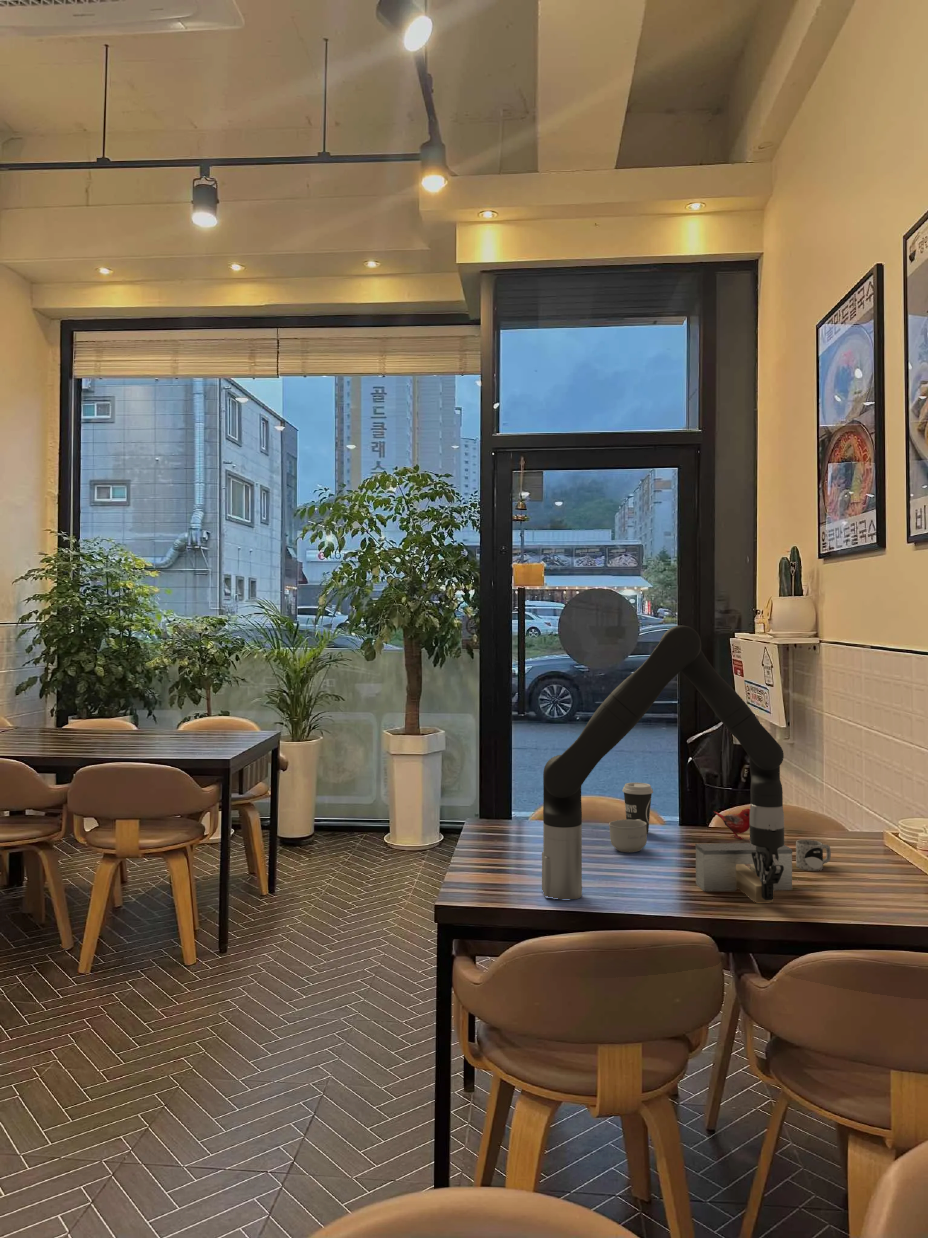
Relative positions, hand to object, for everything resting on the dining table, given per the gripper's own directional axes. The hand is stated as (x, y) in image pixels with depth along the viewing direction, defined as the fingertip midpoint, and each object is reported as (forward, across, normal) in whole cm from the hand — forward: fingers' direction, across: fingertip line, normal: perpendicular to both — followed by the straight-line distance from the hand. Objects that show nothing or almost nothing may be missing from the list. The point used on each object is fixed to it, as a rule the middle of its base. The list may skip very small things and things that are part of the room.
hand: (767, 899), depth 187 cm
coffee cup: (+1, -69, -12) cm, 70 cm away
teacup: (+2, -50, -19) cm, 54 cm away
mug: (+2, -30, +26) cm, 40 cm away
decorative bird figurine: (+2, -62, +16) cm, 64 cm away
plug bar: (+2, -13, 0) cm, 13 cm away
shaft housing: (+2, -14, 0) cm, 14 cm away
